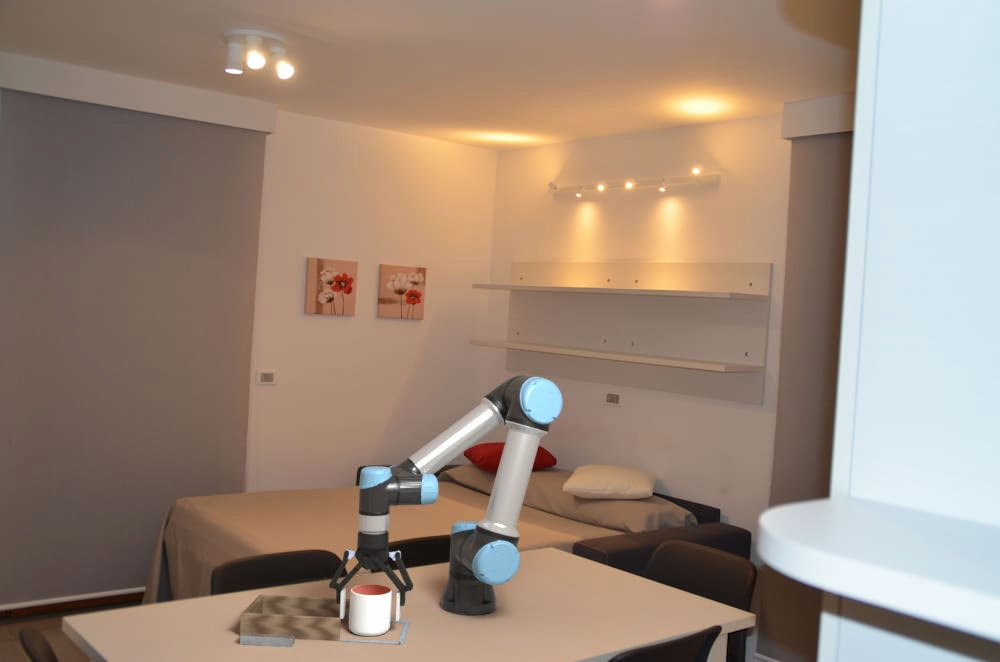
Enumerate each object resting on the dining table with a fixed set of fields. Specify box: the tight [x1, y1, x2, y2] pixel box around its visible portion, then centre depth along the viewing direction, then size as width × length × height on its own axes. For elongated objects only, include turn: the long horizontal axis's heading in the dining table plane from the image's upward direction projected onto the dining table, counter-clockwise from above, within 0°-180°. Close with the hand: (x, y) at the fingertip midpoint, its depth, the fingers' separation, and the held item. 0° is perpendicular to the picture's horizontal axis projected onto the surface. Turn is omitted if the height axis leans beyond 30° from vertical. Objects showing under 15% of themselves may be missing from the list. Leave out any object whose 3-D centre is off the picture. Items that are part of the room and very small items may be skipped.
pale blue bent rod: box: [340, 619, 410, 646], centre depth 211 cm, size 14×17×1 cm
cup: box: [348, 584, 393, 637], centre depth 211 cm, size 10×10×10 cm
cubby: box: [239, 594, 350, 642], centre depth 211 cm, size 23×16×5 cm
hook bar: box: [239, 630, 296, 648], centre depth 199 cm, size 12×4×2 cm, turn 90°
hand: (370, 618), depth 211 cm, fingers open, 13 cm apart
